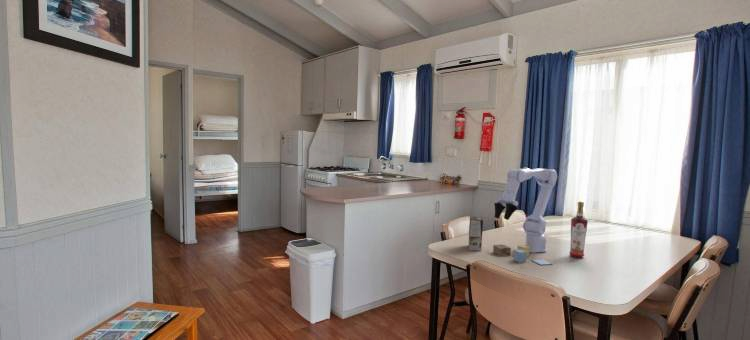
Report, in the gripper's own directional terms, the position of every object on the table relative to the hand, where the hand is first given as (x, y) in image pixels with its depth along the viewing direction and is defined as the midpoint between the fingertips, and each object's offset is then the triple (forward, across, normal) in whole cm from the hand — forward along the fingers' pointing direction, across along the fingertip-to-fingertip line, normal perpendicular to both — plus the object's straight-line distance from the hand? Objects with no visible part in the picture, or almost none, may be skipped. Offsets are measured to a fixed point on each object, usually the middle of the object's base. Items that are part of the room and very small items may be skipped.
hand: (501, 218), depth 180 cm
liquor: (+2, +2, +47) cm, 47 cm away
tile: (+12, +7, +24) cm, 28 cm away
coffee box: (+17, -20, +5) cm, 27 cm away
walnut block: (+15, -9, +13) cm, 22 cm away
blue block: (+16, +3, +16) cm, 22 cm away
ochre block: (+12, -4, +22) cm, 25 cm away
